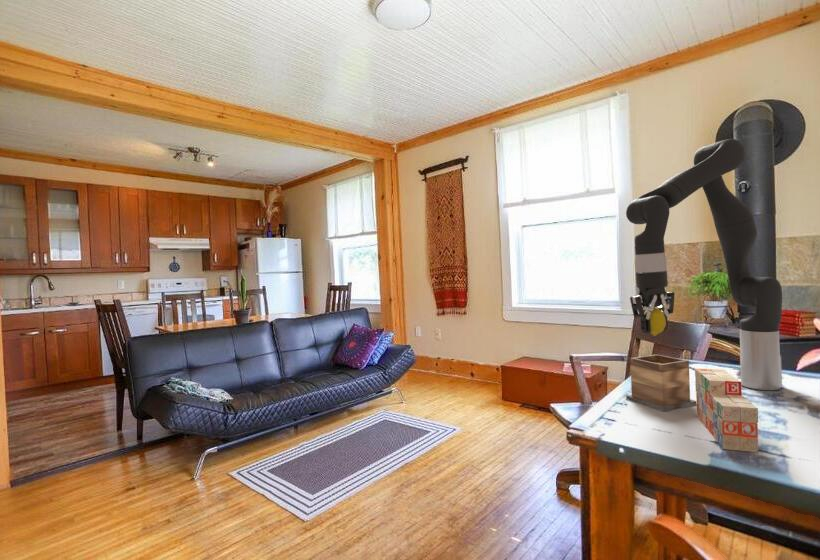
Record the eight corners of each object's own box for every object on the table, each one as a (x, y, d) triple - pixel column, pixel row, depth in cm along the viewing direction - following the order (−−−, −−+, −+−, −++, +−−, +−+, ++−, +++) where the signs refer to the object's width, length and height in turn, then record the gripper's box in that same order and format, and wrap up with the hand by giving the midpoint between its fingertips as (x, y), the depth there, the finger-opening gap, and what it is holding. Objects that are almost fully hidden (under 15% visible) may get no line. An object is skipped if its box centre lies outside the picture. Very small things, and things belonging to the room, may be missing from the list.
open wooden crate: (657, 393, 125) (656, 353, 125) (696, 404, 114) (695, 360, 114) (626, 399, 121) (624, 357, 121) (663, 411, 110) (661, 366, 110)
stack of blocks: (759, 453, 85) (757, 393, 84) (722, 450, 87) (720, 391, 87) (725, 417, 104) (724, 368, 104) (696, 415, 107) (694, 367, 107)
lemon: (670, 337, 112) (668, 307, 112) (647, 338, 113) (645, 308, 113) (661, 333, 118) (660, 305, 117) (640, 334, 119) (638, 306, 119)
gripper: (658, 268, 121) (661, 326, 121) (619, 272, 116) (623, 333, 117) (682, 268, 114) (686, 329, 114) (642, 272, 109) (646, 336, 110)
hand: (654, 331), depth 115 cm, fingers closed on lemon, 5 cm apart
